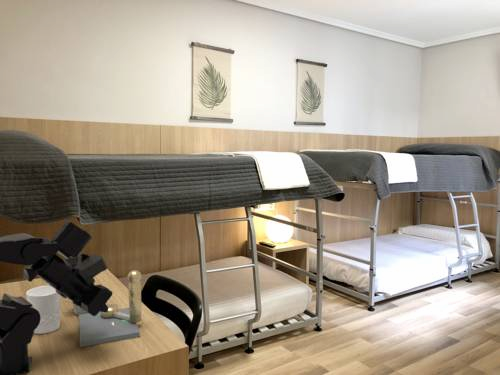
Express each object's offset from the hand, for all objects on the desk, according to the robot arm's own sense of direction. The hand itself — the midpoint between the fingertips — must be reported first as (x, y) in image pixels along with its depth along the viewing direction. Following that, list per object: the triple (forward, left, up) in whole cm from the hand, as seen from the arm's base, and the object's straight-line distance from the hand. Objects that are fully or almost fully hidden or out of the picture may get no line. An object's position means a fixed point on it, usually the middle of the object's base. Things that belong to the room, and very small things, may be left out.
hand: (106, 310), depth 102 cm
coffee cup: (+19, +5, -7) cm, 21 cm away
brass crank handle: (+7, -4, -5) cm, 10 cm away
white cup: (+11, +14, -7) cm, 19 cm away
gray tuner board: (+5, 0, -7) cm, 8 cm away
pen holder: (+39, +7, -7) cm, 40 cm away
